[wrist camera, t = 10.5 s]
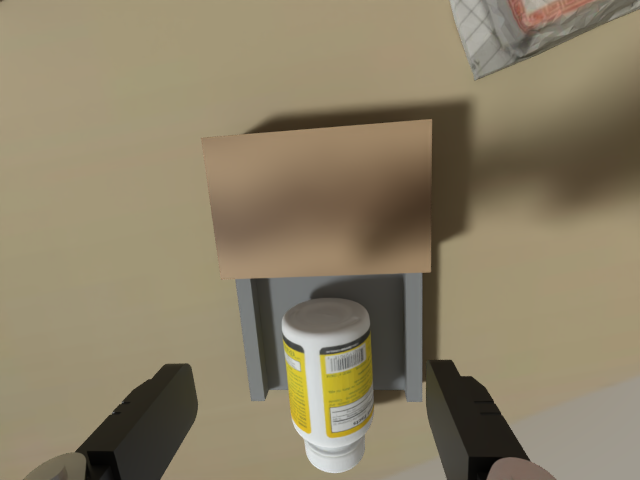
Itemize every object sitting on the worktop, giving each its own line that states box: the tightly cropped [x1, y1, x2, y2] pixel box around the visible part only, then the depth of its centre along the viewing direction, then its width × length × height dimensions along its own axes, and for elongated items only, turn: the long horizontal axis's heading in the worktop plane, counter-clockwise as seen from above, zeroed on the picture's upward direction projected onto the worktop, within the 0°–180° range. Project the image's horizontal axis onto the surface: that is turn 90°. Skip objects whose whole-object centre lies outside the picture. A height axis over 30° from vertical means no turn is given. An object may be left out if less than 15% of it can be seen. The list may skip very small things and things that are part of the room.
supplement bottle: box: [282, 298, 374, 473], centre depth 21 cm, size 5×5×10 cm
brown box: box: [201, 119, 432, 280], centre depth 20 cm, size 8×12×4 cm, turn 94°
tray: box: [235, 273, 422, 402], centre depth 23 cm, size 10×12×2 cm
